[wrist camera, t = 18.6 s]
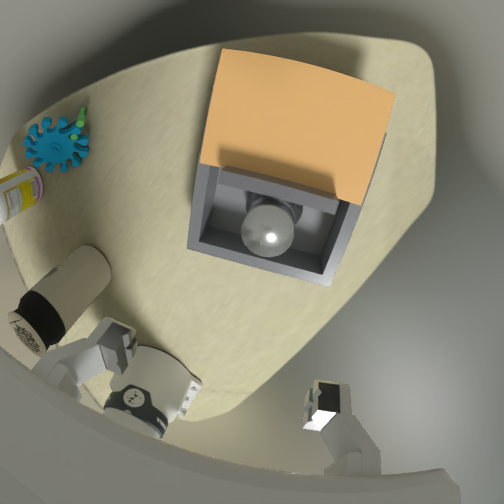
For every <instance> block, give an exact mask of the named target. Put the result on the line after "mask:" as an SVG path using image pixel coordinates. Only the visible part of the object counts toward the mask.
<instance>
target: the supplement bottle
mask: <svg viewBox="0 0 504 504" xmlns="http://www.w3.org/2000/svg"><path fill="white" fill-rule="evenodd" d="M42 193H43V183H42V179H41V177H40V175H39V173H38V171H37V170H36V169H35V168H33V167H26V168H24V169H21V170H19V171H17V172H15V173H12V174H10V175H8V176H6V177H4V178H2V179H0V225H1V224H3V223H4V222H6V221H8V220H9V219H11V218H12V217H14V216H15V215H17V214H19V213H20V212H22V211H24V210H25V209H27V208H29V207H30V206H32V205H34V204H36V203H37V202H38V201H39V200H40V199H41V197H42Z"/></svg>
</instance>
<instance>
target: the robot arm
mask: <svg viewBox="0 0 504 504" xmlns="http://www.w3.org/2000/svg"><path fill="white" fill-rule="evenodd" d="M135 335H136V329H135V328H133V327H130V326H128V325H126V324H123V323H121V322H119V321H116V320H114V319H112V318H110V317H105V318H103V320H102V321H101V322H100V323H99V324H98V326H97V327H96V328H95V329H94V331H93V332H92V333H91V334H90V336H89V337H88V338H83V339H80V340H77V341H75V342H72V343H69V344H67V345H64V346H62V347H59V348H56V349H54V350H51V351H48V352H46V353H45V354H44V355H43V356H42V357H41V359H40V360H39V361H38V362H37V364H36V365H35V366H34V367H33V369H32V370H30V369H29V368H27V367H26V366H24V365H23V364H22V363H21V362H19V361H18V360H17V359H15V358H14V357H13V356H12V355H11V354H9V353H8V352H7V351H6V350H5V349H3V348H2V347H1V346H0V504H461V493H460V488H459V485H458V484H457V482H456V481H455V480H454V479H453V478H452V476H451V475H450V474H449V473H448V472H447V471H446V470H445V469H442V468H440V469H439V468H438V469H432V470H425V471H418V472H410V473H402V474H389V475H381V456H380V450H379V449H378V447H377V446H376V445H375V443H374V442H373V440H372V439H371V438H370V436H369V435H368V433H367V432H366V431H365V429H364V428H363V426H362V425H361V424H360V422H359V421H358V420H357V418H356V417H355V415H352V410H351V396H350V386H349V384H342V383H337V382H331V381H324V380H315V382H314V383H313V388H311V389H309V391H308V392H307V395H306V398H305V402H304V408H305V410H306V413H305V415H304V416H303V427H302V428H304V429H310V430H316V431H320V433H321V435H322V437H323V439H324V441H325V443H326V445H327V447H328V449H329V451H330V453H331V455H332V457H333V459H334V461H335V462H334V463H333V464H331V465H330V466H328V467H327V468H325V469H324V475H317V474H305V473H295V472H286V471H280V470H273V469H266V468H260V467H255V466H250V465H245V464H240V463H235V462H231V461H227V460H223V459H219V458H215V457H212V456H208V455H204V454H201V453H198V452H194V451H191V450H188V449H185V448H182V447H179V446H176V445H173V444H170V443H167V442H164V441H162V440H159V439H161V438H162V437H163V435H164V434H165V432H166V430H167V427H168V423H170V422H172V421H173V420H174V419H175V417H176V416H179V417H181V418H184V416H185V414H186V411H187V409H188V407H189V406H190V404H191V403H192V401H193V399H194V398H195V396H196V395H197V393H198V391H199V390H200V388H201V386H202V383H201V381H199V380H198V379H197V378H195V377H194V376H192V375H191V374H190V373H189V372H188V371H187V369H186V368H185V367H184V366H183V365H182V364H181V363H180V362H178V361H177V360H176V359H174V358H173V357H171V356H170V355H168V354H166V353H164V352H162V351H160V350H157V349H154V348H151V347H146V346H137V344H138V343H137V339H136V338H135V337H134V336H135ZM106 369H108V370H110V371H112V372H114V375H113V377H112V379H111V381H110V387H111V389H112V393H111V394H110V396H109V397H108V398H107V400H106V402H105V405H104V412H103V414H101V413H99V412H97V411H95V410H93V409H91V408H89V407H88V406H86V405H84V404H82V403H81V402H79V401H80V400H81V398H82V396H81V393H80V391H79V389H78V387H77V386H79V385H80V384H82V383H84V382H86V381H88V380H90V379H91V378H93V377H95V376H97V375H99V374H100V373H102V372H104V371H106Z"/></svg>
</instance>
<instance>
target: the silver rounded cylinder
mask: <svg viewBox="0 0 504 504" xmlns="http://www.w3.org/2000/svg"><path fill="white" fill-rule="evenodd" d="M246 210H247V215H246V217H245V219H244V222H243V224H242V227H241V237H242V240H243V242H244V244H245V245H246V247H247V248H248V249H249V250H250V251H252V252H253V253H255V254H257V255H259V256H263V257H275V256H278V255H281V254H282V253H284V252H285V251H286V250H287V249H288V248H289V247H290V246H291V244H292V241H293V238H294V226H295V225H296V224H297V223H298V221H299V220H300V218H301V215H302V212H303V205H299V204H295V203H292V202H288V201H285V200H281V199H277V198H273V197H270V196H266V195H262V194H258V193H254V192H249V194H248V196H247V200H246Z"/></svg>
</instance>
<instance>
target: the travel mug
mask: <svg viewBox="0 0 504 504" xmlns="http://www.w3.org/2000/svg"><path fill="white" fill-rule="evenodd" d="M110 281H111V269H110V266H109V264H108V262H107V260H106V259H105V257H104V256H103V255H102V254H101V253H100V252H99V251H98V250H97V249H95V248H94V247H92V246H89V245H82V246H80V247H79V248H77V249H76V250H75V251H74V252H73V253H71V254H70V255H69V256H68V257H66V258H65V259H64V260H63V261H62V262H61V263H59V264H58V265H57V266H56V267H55V268H54V269H52V270H51V271H50V272H49V273H48V274H47V275H46V276H44V277H43V278H42V279H41V280H40V281H39V282H38V283H37V284H36V285H34V286H33V287H32V288H31V289H30V290H29V291H28V292H27V293H26V294H25V295H24V296H23V297H22V298H21V299H20V303H19V306H18V309H16V310H15V311H13V312H9V313H8V321H9V324H10V326H11V328H12V330H13V331H14V333H15V334H16V336H17V337H18V339H19V340H20V341H21V342H22V343H23V344H24V345H25V346H26V347H27V348H28V349H29V350H30V351H31V352H33V353H34V354H35V355H37V356H39V357H42V356H43V355H44V354H45V353H46V352H47V350H48V348H49V346H50V345H53V344H56V343H59V341H60V340H61V339H62V338H63V336H64V335H65V334H66V333H67V331H68V330H69V329H70V328H71V327H72V325H73V324H74V323H75V322H76V321H77V319H78V318H79V317H80V316H81V315H82V314H83V312H84V311H85V310H86V309H87V308H88V307H89V305H90V304H91V303H92V302H93V301H94V300H95V299H96V298H97V296H98V295H99V294H100V293H101V292H102V291H103V290H104V289H105V288H106V286H107V285H108V284H109V283H110Z"/></svg>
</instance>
